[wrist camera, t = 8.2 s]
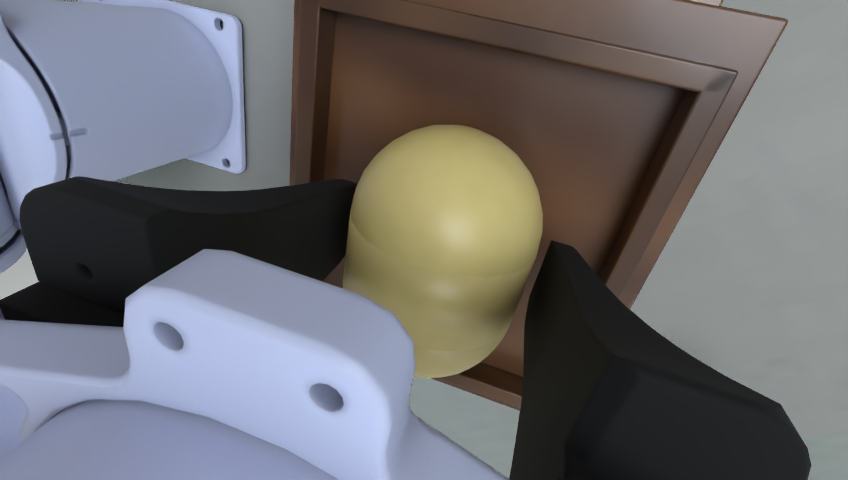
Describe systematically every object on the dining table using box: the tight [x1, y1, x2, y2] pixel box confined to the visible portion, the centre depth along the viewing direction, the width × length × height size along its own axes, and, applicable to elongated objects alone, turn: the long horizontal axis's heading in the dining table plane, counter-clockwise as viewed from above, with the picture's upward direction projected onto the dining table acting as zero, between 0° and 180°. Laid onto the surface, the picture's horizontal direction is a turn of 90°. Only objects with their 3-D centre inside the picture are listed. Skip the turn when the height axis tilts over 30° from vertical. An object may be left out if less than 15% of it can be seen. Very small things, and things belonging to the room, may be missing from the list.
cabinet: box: [290, 0, 788, 410], centre depth 17 cm, size 14×12×7 cm
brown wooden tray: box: [294, 0, 738, 408], centre depth 13 cm, size 11×12×1 cm
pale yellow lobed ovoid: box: [343, 125, 543, 378], centre depth 11 cm, size 5×7×5 cm
